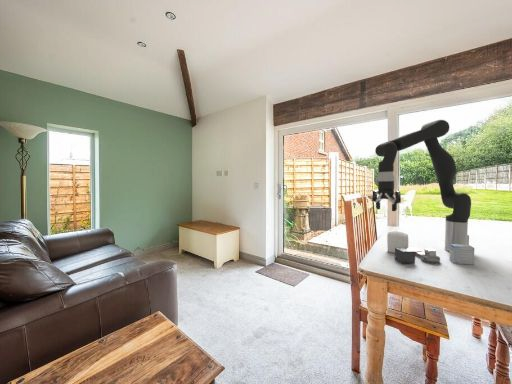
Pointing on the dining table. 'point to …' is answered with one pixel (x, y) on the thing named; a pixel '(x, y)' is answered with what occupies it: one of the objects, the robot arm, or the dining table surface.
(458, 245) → the medicine box
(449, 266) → the dining table surface
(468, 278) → the dining table surface
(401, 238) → the photo printer
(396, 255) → the dark grey metal cube
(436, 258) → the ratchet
